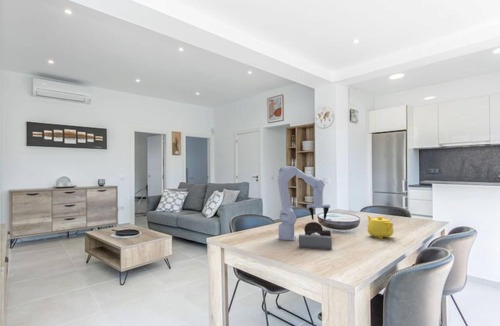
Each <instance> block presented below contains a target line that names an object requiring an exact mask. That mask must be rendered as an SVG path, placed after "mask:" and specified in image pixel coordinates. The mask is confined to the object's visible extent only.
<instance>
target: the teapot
mask: <svg viewBox="0 0 500 326" xmlns="http://www.w3.org/2000/svg"><path fill="white" fill-rule="evenodd" d="M366 216H367V218H368V224H367V229H366V230H367V233H368V234H369V235H370V237H371V238H375V237H378V238H377V239H378V240H383V239H384V238H386V239H391V236H393V234H394V224H393V222H391V220H390V219H387V218H383V216H381V215H380V216H379V215H378V216H377V217H375V218H372V216H371V215H369V214H366Z"/></svg>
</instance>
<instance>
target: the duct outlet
mask: <svg viewBox="0 0 500 326" xmlns="http://www.w3.org/2000/svg"><path fill="white" fill-rule="evenodd" d="M332 241H333V237H332V235H331V236H321V235H320V234H318V233H312V234H311V235H305V234H299V235H298V248H301V249H302V248H303V249H317V250H318V249H319V250H332V248H333V242H332Z"/></svg>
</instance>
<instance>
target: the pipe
mask: <svg viewBox="0 0 500 326" xmlns="http://www.w3.org/2000/svg"><path fill="white" fill-rule="evenodd" d="M323 229H324V228H323V227H322V225H321V224H320V222H319V223H318V222H315V221H311V222H308V223H306V224H305V225H304V229H303V230H304V235H311V234H312V233H318V234H320V235H321V236H332V232H331V230H323Z"/></svg>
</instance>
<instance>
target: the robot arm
mask: <svg viewBox="0 0 500 326" xmlns="http://www.w3.org/2000/svg"><path fill="white" fill-rule="evenodd" d="M295 176H296V177H298V178H299V179H302V180H303V181H304V182H305V183H306V184H308V185H310V186H311V188H313V204H306V208H307V209H308V211H309V213H310V215H311V220H312V221H313V220H314V209H323V220H326V218H327V213H328V212H329V209H331V205H330V204H324V203H323V202H324V193H323V192H324V188H325V186H326V185H325V182H324V180H322V179H319V178H317V177H315V176H314V175H313V173H311V174H306V173H304V172H303V171H301V170H300V169H299V168H297V167H295V166H294V165H290V166H289V165H287V166H285V165H284V166H281V167H280V168H279V170H278V175H277V177H278V178H277V185H278V191H279V198H280V203H281V204H280V205H281V209H280V211H279V212H280V215H279V220H280V221H281V223H279V224H278V229H277V230H278V240H283V241H285V240H286V241H295V240H296V238H297V236H296V235H295V224H296V222H297V219H298V218H297V215H296V214H295V211H294V209H293V208H292V203H291V198H290V192H289V186H288V183H289V180H291V179H292V178H293V177H295Z"/></svg>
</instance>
